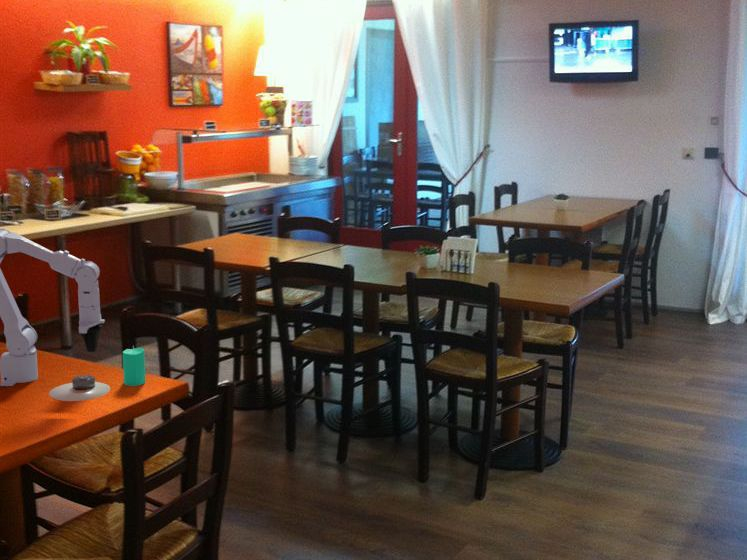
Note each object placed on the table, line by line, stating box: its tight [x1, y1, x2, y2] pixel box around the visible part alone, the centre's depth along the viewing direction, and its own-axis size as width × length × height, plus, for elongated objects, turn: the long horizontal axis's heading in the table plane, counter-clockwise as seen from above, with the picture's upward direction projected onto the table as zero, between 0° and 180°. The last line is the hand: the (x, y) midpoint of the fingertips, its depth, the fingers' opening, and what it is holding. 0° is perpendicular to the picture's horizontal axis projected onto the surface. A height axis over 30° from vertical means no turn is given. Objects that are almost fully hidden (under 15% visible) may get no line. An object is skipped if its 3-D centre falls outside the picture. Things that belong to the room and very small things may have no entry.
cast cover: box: [71, 374, 96, 390], centre depth 250 cm, size 6×6×3 cm
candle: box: [122, 345, 146, 387], centre depth 254 cm, size 6×6×12 cm
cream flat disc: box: [48, 381, 111, 402], centre depth 247 cm, size 16×16×1 cm
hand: (91, 351), depth 257 cm, fingers closed
